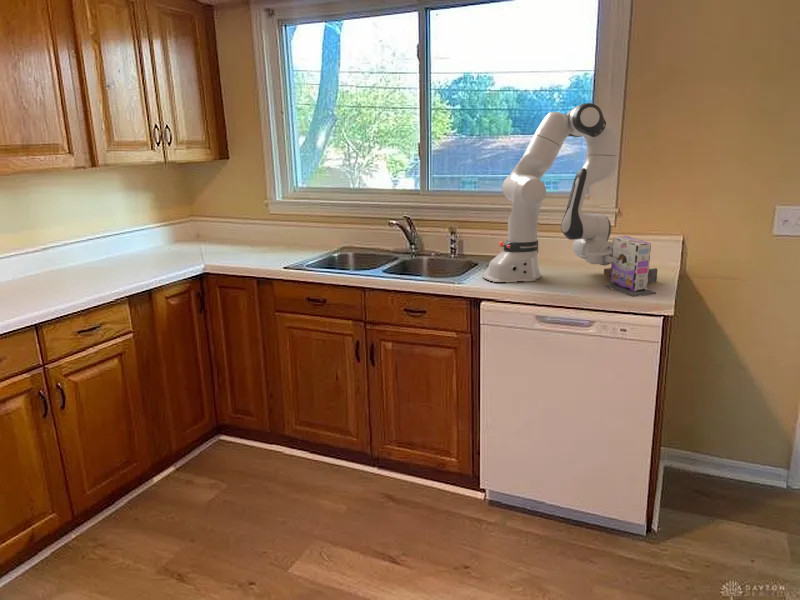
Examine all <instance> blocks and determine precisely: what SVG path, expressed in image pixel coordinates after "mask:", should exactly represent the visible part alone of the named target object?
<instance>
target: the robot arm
mask: <svg viewBox="0 0 800 600" xmlns="http://www.w3.org/2000/svg"><path fill="white" fill-rule="evenodd" d="M568 137H574V138H580V137H583V138H584V139H585V142H586V147H587V148H586V153H585V154H586V155H585V161H584V164H583V166H582V167H581V169H579V170H578V171H576V174H575V177H574V179H573V184H572V187H571V191H570V194H569V199H568V201H567V202H568V203H567V207H566V209H565V210H566V211H565V214H564V216H563V218H562V220H561V223H560V224H561V225H560V229H561V232H562V234H563V235H564V236H565V238H567V239H568V240H570V241H573V244H572V249H573V252H574V253H575V255H576V256H577V257H579V258H581V259H583V260H585V262H586V263H588V264H590V265H600V266H604V267H605V266H609V265H612V262H613V263H619V258H618V257H612V246H613V241H608V240H610V235H611V232H612V225H611V222H610V219H609V218H608V216H607V215H605V214H602V213H584V212H583V213H582V208H583V204H584V199H585V197H586V193H587V190H588V189H589V188H590V187H591V186H592V185H594V184H598V183H600V182H602V181H606V179H609V178H610V177H611V176H612V175H613V174H614V172H615V171H616V167H617V162H618V151H619V150H618V149H619V147H618V146H619V143H618V133H617V130H616V128H614V127H612V126H610V125H607V121H606V120H605V117H604V115H603V112H602V110H601V108H600V107H599V106H598V105H597V104H595V103H591V102H585V103H581V104H579V105H577V106H575V107H574V108H572V109H571V110H569V111H568V112H566V113H562V112H559V111H551V112H549V113H547V114H546V115H545V116H544V118H543V119H542V121H541V122H540V124H539V126H538V127H537V129H536V130H535V133H534V134H533V136H532V137H531V140H530V142H529V144H528V145H527V147H526V150H525V152H524V153H523V155H522V157H521V158H520V160H519V161H518V163H517V164H516V165H515V167H514V168H513V170H512V171H511V173H510V174H509V175H508V176H507V177H506V178H505V179H504V181H503V182H502V184H501V188H502V189H501V190H502V193H503V195H504V196H505V198H506V199H507V200H508V201H510V202H512V207H511V212H510V215H509V217H508V219H507V240H506V241H505V242H504V241H502V240H501V241H499V243H498V245H499V247H502V248H503V249H502V251H501V252H499V254H497V255H496V256H495V257H494V258H493V259H491V260H490V261H489V265H488V270H487V272H484V273H483V274H482V275H481V276H482V277H483V278H485V279H487V280H489V281H488V282H490V281H493V282H492V283H494V282H506V283H518V282H517V281H524V282H535V281H536V280H537V279H539V278H541V276H542V274H541V273H540V267H539V259H538V258H539V257H538V254H539V240H538V227H539V226H538V225H539V224H538V222H539V215H540V211H541V205H542V203H543V200H544V199H545V198H546V194H547V188H546V185H545V183H544V181H542V180H541V179H542V177H543V176H544V174H546V172H547V171H548V170H550V169H551V168H552V166H553V165H554V162H555V161H556V158H557V156H558V155H559V152H560V150H561V148H562V147H563V144H564V141H565V140H566V139H567V138H568ZM485 279H484V280H485ZM487 280H486V281H487Z"/></svg>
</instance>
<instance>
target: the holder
mask: <svg viewBox="0 0 800 600" xmlns="http://www.w3.org/2000/svg"><path fill="white" fill-rule="evenodd" d="M603 275H604V276H605V275H606V277H608V276H609V277H608V278H611V267H607V268H603ZM657 278H658V268H657V267H656V268H649V273H648V284H653V283H652V282H655V283H658V281H657V280H658V279H657Z"/></svg>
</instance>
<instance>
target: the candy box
mask: <svg viewBox="0 0 800 600" xmlns="http://www.w3.org/2000/svg"><path fill="white" fill-rule="evenodd" d="M612 242H613V246H612V257H618V258H619V263H613V262H612V263H611V264H610V265H611V267H610V268H611V277H610V282H611V283H612V284H614V283H615V284H617V285H620V286H622V287H624V288H627V289H629V290H631V291H641V290H647V289H648V286H649V285H648V284H649V283H648V273H649V269H650V259H651V258H650V257H651V250H652V249H651V248H652V243H651V242H647V241H643V240H641V239H638V238H635V237H631V236H628V235H622V236H614V237H612Z"/></svg>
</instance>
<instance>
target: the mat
mask: <svg viewBox="0 0 800 600" xmlns="http://www.w3.org/2000/svg"><path fill="white" fill-rule="evenodd" d="M606 286H607V288H609V287H610V288H609V289H612V288H613V289H612V290H614V289H615V290H614V291H617V290H618V291H617V292H619V293H622V292H623V293H622V294H625V293H626V294H625V295H628V294H629V295H628V296H630V295H631V297H639V295H641V296H648V295H647V294H650V295H656V294H657V291H655V290H651V289H649V288H647V290H641V291H631V290H629V289H627V288H624V287H622V286H620V285H617V284H615V283H609V284H608V283H606V284H605V287H606Z"/></svg>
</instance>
